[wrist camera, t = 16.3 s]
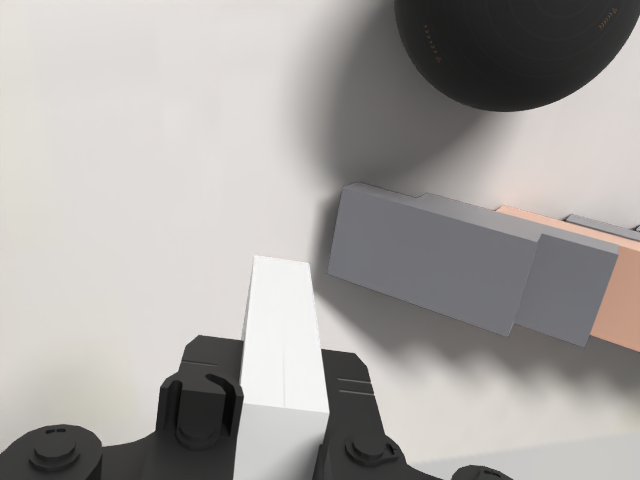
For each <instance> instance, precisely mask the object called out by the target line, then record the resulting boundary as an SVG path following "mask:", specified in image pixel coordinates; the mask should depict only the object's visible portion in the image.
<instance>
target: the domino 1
mask: <svg viewBox="0 0 640 480" xmlns="http://www.w3.org/2000/svg"><path fill="white" fill-rule="evenodd" d="M541 235H542V233H541V232H538V231H534V230H530V229H527V228H523V227H519V226H516V225H512V224H509V223H505V222H501V221H498V220H494V219H490V218H487V217H483V216H480V215H476V214H472V213H469V212H465V211H461V210H458V209H454V208H450V207H447V206H443V205H440V204H436V203H432V202H429V201H425V200H421V199H418V198H414V197H411V196H407V195H403V194H400V193H396V192H392V191H389V190H385V189H382V188H378V187H374V186H371V185H367V184H363V183H360V182H356V183H353V184H350V185H347V186H344V187H343V188H342V193H341V199H340V204H339V210H338V215H337V220H336V226H335V231H334V237H333V242H332V248H331V253H330V259H329V264H328V270H327V274H329V275H332V276H334V277H337V278H340V279H343V280H346V281H349V282H352V283H354V284H357V285H360V286H363V287H366V288H369V289H371V290H374V291H377V292H380V293H383V294H386V295H389V296H391V297H394V298H397V299H400V300H403V301H406V302H408V303H411V304H414V305H417V306H420V307H423V308H425V309H428V310H431V311H434V312H437V313H440V314H443V315H445V316H448V317H451V318H454V319H457V320H460V321H462V322H465V323H468V324H471V325H474V326H477V327H480V328H482V329H485V330H488V331H491V332H494V333H497V334H499V335H502V336H505V337H508V336H509V334H510V331H511V329H512V327H513V325H514V322H515V319H516V316H517V312H518V309H519V306H520V303H521V300H522V296H523V293H524V290H525V287H526V283H527V280H528V277H529V274H530V270H531V267H532V264H533V261H534V258H535V254H536V251H537V248H538V245H539V241H540V238H541Z"/></svg>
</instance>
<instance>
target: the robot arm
mask: <svg viewBox="0 0 640 480" xmlns="http://www.w3.org/2000/svg"><path fill="white" fill-rule="evenodd" d="M370 383H371V380H370V376H369V373H368V369H367V366H366V365H365V364H364V363H363V362H362V361H361V360H360V359H359V357H358V356H357V355H356V354H355V353H349V352H341V351H333V350H325V349H321V347H320V339H319V332H318V324H317V317H316V310H315V302H314V295H313V288H312V280H311V273H310V266H309V263H305V262H298V261H292V260H285V259H278V258H271V257H264V256H257V255H254V261H253V267H252V273H251V280H250V286H249V292H248V299H247V305H246V311H245V318H244V324H243V330H242V337H241V340H234V339H226V338H218V337H210V336H202V335H198V336H197V337H196V338H195V339H194V340H192V341H191V342H190V343H189V344H187V345H186V347H185V350H184V354H183V357H182V361H181V364H180V367H179V370H178V372H177V373H175V374H173V375H172V376H170V377H168V378H166V380H165V381H164V382H163V384H162V385H161V387H160V394H159V403H158V412H157V421H156V430H155V431H154V432H153V433H151V434H150V435H148V436H147V437H145V438H142V439H140V440H137V441H135V442H131V443H126V444H121V445H114V446H106V447H102V444H101V441H100V440H99V439H98V437H97V436H96V435H95V434H94V433H93V432H91V431H89V430H87V429H85V428H82V427H80V426H73V425H65V424H61V425H52V426H45V427H42V428H39V429H36V430H33V431H30V432H28V433H26V434H25V435H23V436H22V437H20V438H19V439H17V440H16V441H14V442H13V443H12V444H11V445H10V446H9V447H8V448H7V449H6V450H5V451H4V452H2V453H1V454H0V480H443V479H440V478H436V477H434V476H431V475H428V474H425V473H423V472H421V471H418V470H416V469H414V468H412V467H411V466H409V465H408V464H407V463H406V460H405V456H404V454H403V453H402V451H401V449H400V447H399V446H398V445H397V444H396V443H395V442H394V441H393V440H392V439H391V438H389V437H388V436H386V435H385V433H384V429H383V425H382V421H381V418H380V414H379V410H378V406H377V403H376V399H375V396H374V391H373V388H372V384H370ZM451 480H513V479H511V478H510V477H508V476H506V475H505V474H503V473H501V472H500V471H497V470H494V469H491V468H488V467H485V466H475V465H469V466H465V467H462V468H459V469H458V470H457V471H456V472H455V473H454V475H453V476H452V479H451Z"/></svg>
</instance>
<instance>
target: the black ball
mask: <svg viewBox="0 0 640 480" xmlns="http://www.w3.org/2000/svg"><path fill="white" fill-rule="evenodd" d="M394 3H395V14H396V21H397V26H398V30H399V33H400V36H401V39H402V42H403V45H404V47H405V49H406V51H407V53H408V55H409V57H410V59H411V60H412V62H413V64H414V65H415V66H416V68H417V69H418V71H419V72H420V73H421V74H422V75H423V77H424V78H425V79H426V80H427V81H428V82H429V83H430V84H432V85H433V86H434V87H435V88H436V89H438V90H439V91H440V92H442V93H443V94H445V95H446V96H448V97H450V98H451V99H453V100H455V101H457V102H460V103H462V104H464V105H467V106H470V107H473V108H477V109H482V110H487V111H496V112H515V111H524V110H529V109H534V108H538V107H542V106H545V105H548V104H551V103H553V102H556V101H558V100H560V99H562V98H564V97H566V96H568V95H570V94H572V93H574V92H575V91H577V90H579V89H580V88H582V87H583V86H584V85H586V84H587V83H589V82H590V81H591V80H592V79H594V78H595V77H596V76H597V75H598V74H599V73H600V72H601V71H602V70H604V69H605V68H606V66H607V65H608V64H609V63H610V62H611V61H612V60H613V59H614V58H615V56H616V55H617V54H618V52H619V51H620V50H621V48H622V47H623V46H624V44H625V42H626V41H627V39H628V38H629V36H630V34H631V32H632V31H633V29H634V27H635V25H636V22H637V20H638V18H639V15H640V0H394Z"/></svg>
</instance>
